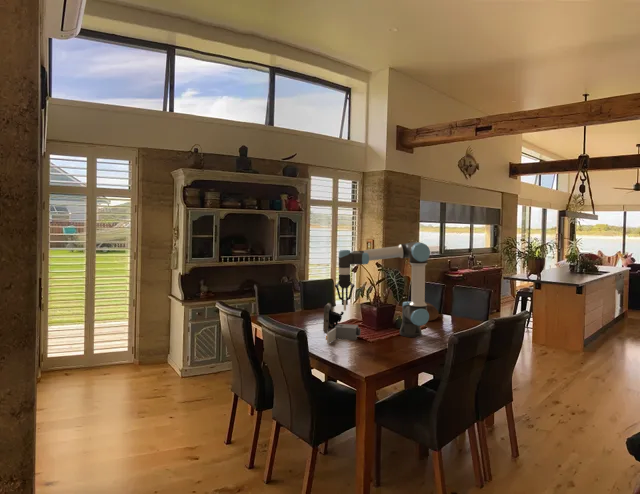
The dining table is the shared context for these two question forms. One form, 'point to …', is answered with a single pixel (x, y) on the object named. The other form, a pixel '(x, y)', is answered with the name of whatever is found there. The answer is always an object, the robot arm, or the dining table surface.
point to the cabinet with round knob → (347, 331)
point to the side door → (331, 335)
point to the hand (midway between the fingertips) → (344, 310)
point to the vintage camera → (330, 318)
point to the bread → (432, 311)
